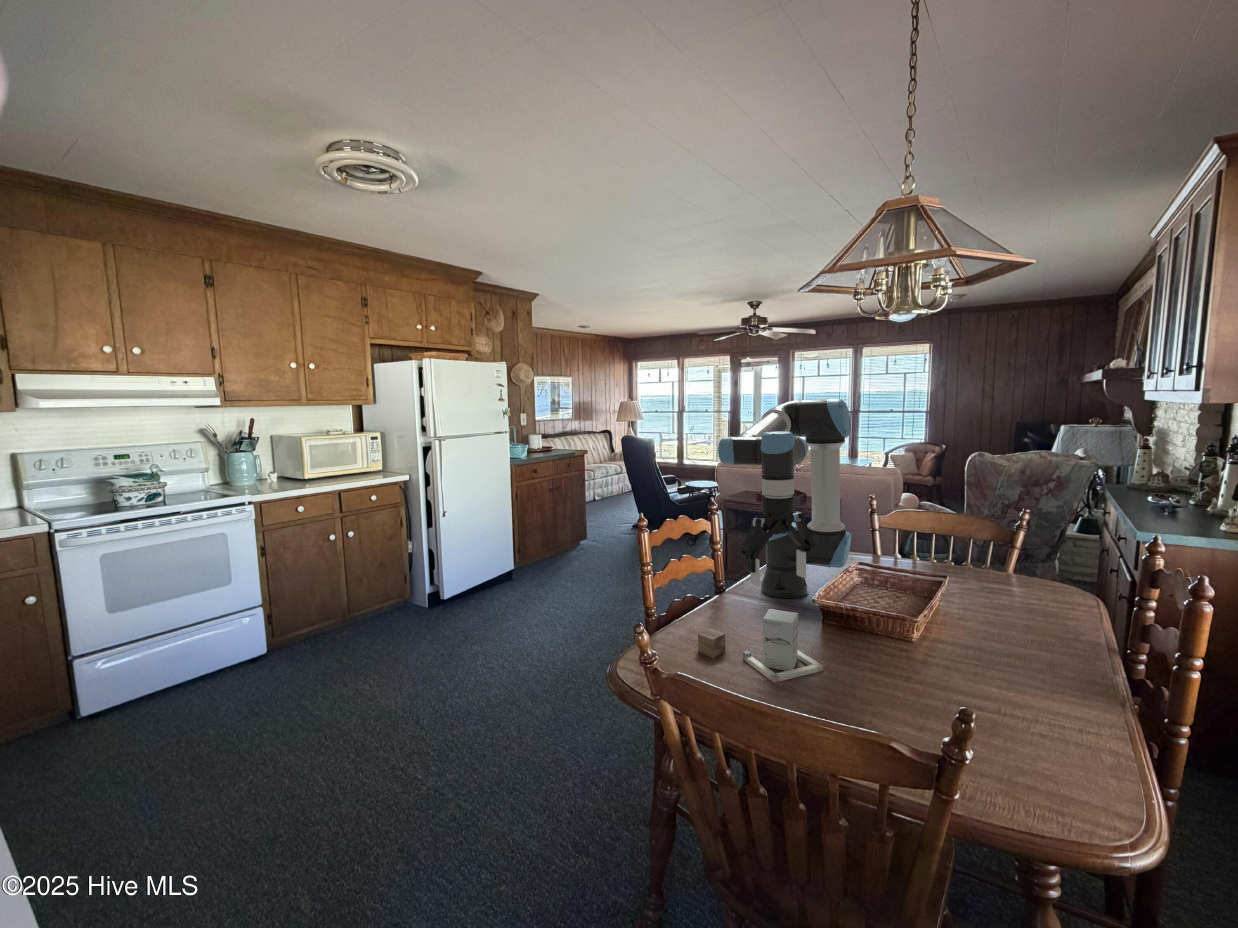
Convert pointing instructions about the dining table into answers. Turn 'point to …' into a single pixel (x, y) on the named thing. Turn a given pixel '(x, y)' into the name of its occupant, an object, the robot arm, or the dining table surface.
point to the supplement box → (780, 639)
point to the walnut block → (711, 642)
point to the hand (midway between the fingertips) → (778, 580)
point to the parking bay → (785, 675)
